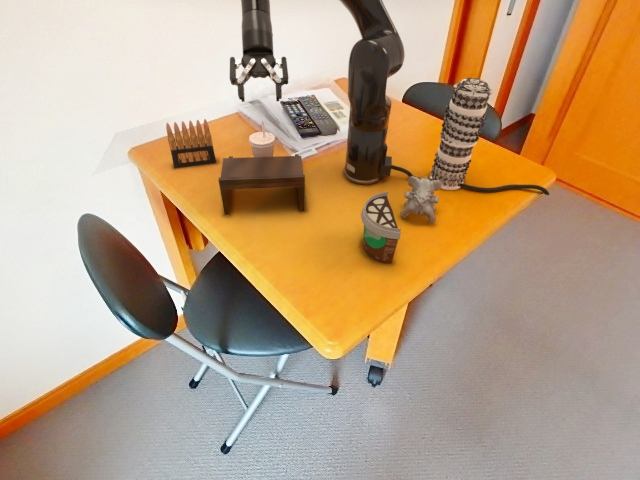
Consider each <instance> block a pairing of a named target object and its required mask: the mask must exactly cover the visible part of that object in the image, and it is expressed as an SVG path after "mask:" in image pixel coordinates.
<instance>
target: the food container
mask: <svg viewBox="0 0 640 480" xmlns="http://www.w3.org/2000/svg"><path fill="white" fill-rule="evenodd" d="M388 196H389V191H385V192H378V193H376V194H374V195H372V196H370V197H369V198H368V199H367V200H366V201H365V203H364V204H363V207H362V210H361V211H360V220H361V222H362V224H363V231H362V232H363V233H362V234H363V236H362V248H363V251H364V253H365V254H366V255H367V257H369V258H370V259H372V260H374V261H375V262H378V263H381V264H382V263H383V264H393V260H394V256H395V253H396V249H397V245H398V243H399V240H400V239H401V235H402V232H401V231H402V229H401V228H399V227H398V224H397V222H396V218H395V213H394V211H393V209H392V207H391V203H390V201H389V198H388Z"/></svg>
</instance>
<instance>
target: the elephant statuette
mask: <svg viewBox="0 0 640 480" xmlns="http://www.w3.org/2000/svg"><path fill="white" fill-rule="evenodd" d="M414 176H415V175H414ZM414 176H410V177H409V176H408V179H407V185H408V186H409V187H410V188H411V190H406V191H405V193H404V195H403V197H404V198H405V199H406V201H404V202H403V206H404V208H402V210H400V211H399V213H400V214H399V215H400V217H401V218H402V219H406V217H408V215H409V214H411V213H413V214H414V215H417V216H423V215H426V217H427V219H428V223H429V224H434V223H435V221H436V215H435V212H436V210H437V208H436V206H435V204H436V205H437V204H438V203H439V202H440V197H439V195H435V192H437V191H439V190H441V189H442V188H441V185H442V184H441V181H440V180H432V181H430V180H429V179H430V178H428V177H427V175H425V176H424V177H419V178H421V179H419V178H417V177H418V176H416V177H414Z"/></svg>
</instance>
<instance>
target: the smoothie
mask: <svg viewBox="0 0 640 480" xmlns="http://www.w3.org/2000/svg"><path fill="white" fill-rule="evenodd" d="M265 126H266V125H265V120H261V127H262V129H261V130H262V131H257V132H254V133H252V134H250V135H249V136H248V144H249V145H250V146H251V151H252V155H253V157H274V150H275V144H276V136H275V135H274V134H273V133H272V132H268V131H266V127H265Z"/></svg>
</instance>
